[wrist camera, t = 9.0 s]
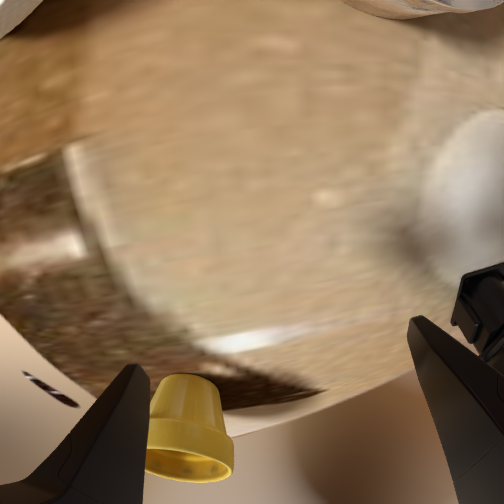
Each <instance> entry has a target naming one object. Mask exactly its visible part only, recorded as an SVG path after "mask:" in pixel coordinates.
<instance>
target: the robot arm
mask: <svg viewBox="0 0 504 504" xmlns="http://www.w3.org/2000/svg"><path fill="white" fill-rule="evenodd" d="M450 323H451V324H452V326H457V325H458V326H459V328H460V329H461V331H462V333H463V334H464V336H465V338H466V339H467V341H468V343H470V344H473V345H474V346H475V348H476V350H477V351H478V353H479V356H477V355H476V354H475V353H473V352H472V351H470V350H469V349H468V348H467V347H465V346H464V345H463V344H461V343H460V342H459V341H457V340H456V339H455V338H453V337H452V336H450V335H449V334H448V333H446V332H445V331H444V330H442V329H441V328H440V327H438V326H437V325H435V324H434V323H433V322H431V321H430V320H429V319H427V318H426V317H424V316H422V315H419V316H415V317H412V318H411V319H410V321H409V327H408V332H407V341H408V344H409V348H410V351H411V355H412V358H413V362H414V365H415V369H416V373H417V376H418V380H419V383H420V385H421V388H422V390H423V393H424V396H425V398H426V401H427V404H428V407H429V409H430V412H431V415H432V418H433V420H434V423H435V426H436V429H437V432H438V435H439V438H440V441H441V444H442V447H443V450H444V453H445V456H446V460H447V462H448V466H449V469H450V473H451V476H452V480H453V484H454V487H455V491H456V495H457V499H458V503H459V504H504V263H503V264H500V265H497V266H494V267H490V268H487V269H484V270H480V271H477V272H474V273H470V274H467V275H464V276H463V277H462V279H461V282H460V286H459V291H458V295H457V299H456V303H455V307H454V311H453V314H452V318H451V322H450ZM149 422H150V379H149V376H148V375H147V374H146V372H145V371H144V369H143V368H142V367H141V365H140V364H138V363H130V364H127V365H126V366H125V367H124V368H123V370H122V371H121V372H120V373H119V374H118V375H117V377H116V378H115V379H114V380H113V381H112V382H111V384H110V385H109V386H108V387H107V388H106V390H105V391H104V392H103V393H102V394H101V395H100V397H99V398H98V399H97V400H96V401H95V403H94V404H93V405H92V406H91V407H90V409H89V410H88V411H87V412H86V413H85V415H84V416H83V417H82V418H81V419H80V421H79V422H78V423H77V424H76V425H75V427H74V428H73V429H72V430H71V431H70V433H69V434H68V435H67V436H66V437H65V439H64V440H63V441H62V442H61V443H60V445H59V446H58V447H57V448H56V449H55V450H54V451H53V452H52V453H51V454H50V455H49V457H47V459H45V460H44V461H43V462H42V463H41V464H40V465H39V466H38V467H37V468H36V469H35V471H33V473H31V474H30V475H29V476H28V477H26V478H25V479H23V480H21V481H18V482H14V483H10V484H4V485H0V504H142V503H143V487H144V473H145V462H146V451H147V441H148V432H149Z"/></svg>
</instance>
